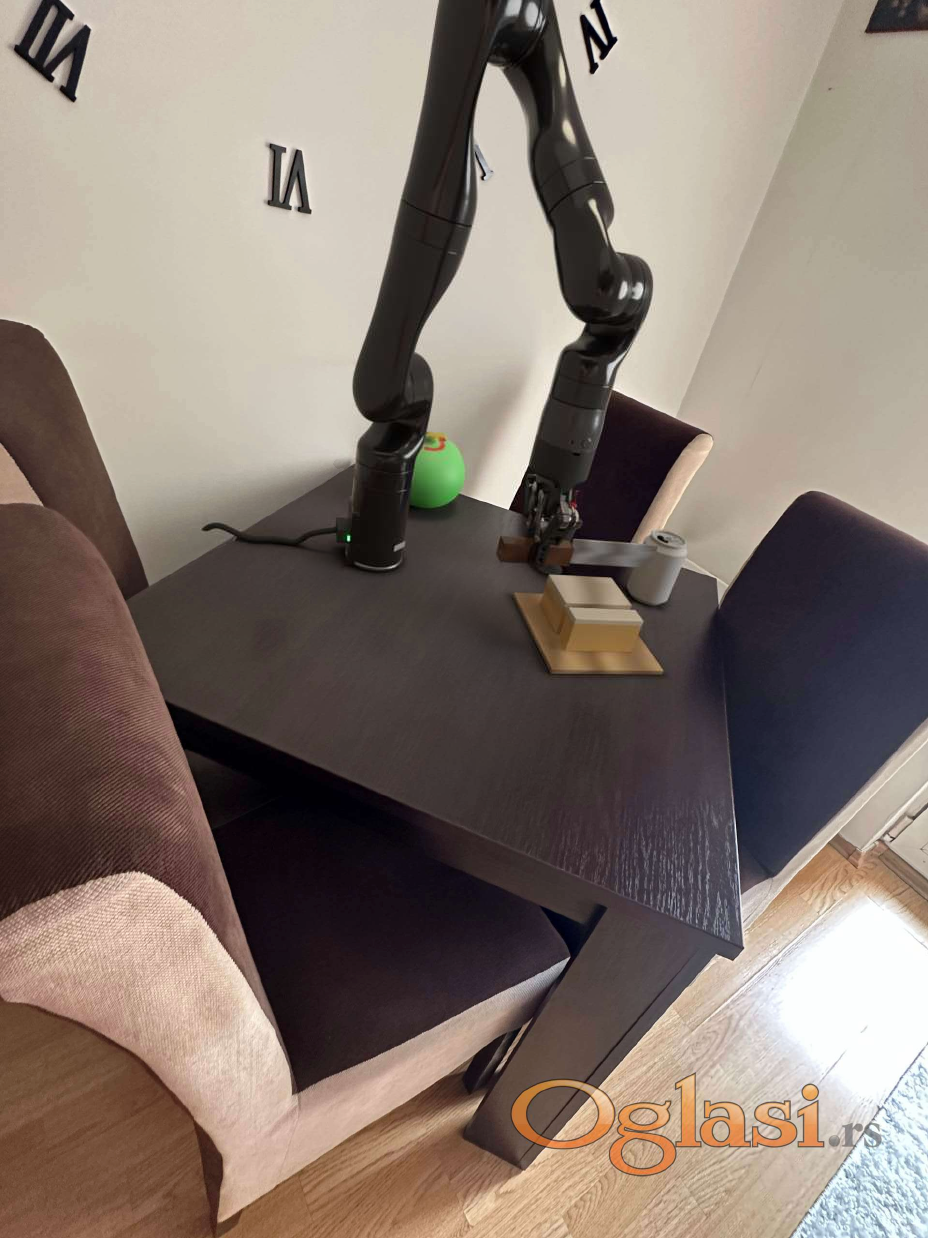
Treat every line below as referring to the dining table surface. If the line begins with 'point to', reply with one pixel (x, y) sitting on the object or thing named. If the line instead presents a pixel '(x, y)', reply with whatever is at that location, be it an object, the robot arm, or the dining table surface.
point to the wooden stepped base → (549, 616)
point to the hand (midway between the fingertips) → (532, 559)
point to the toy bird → (437, 472)
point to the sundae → (557, 569)
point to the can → (658, 568)
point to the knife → (579, 552)
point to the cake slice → (600, 630)
